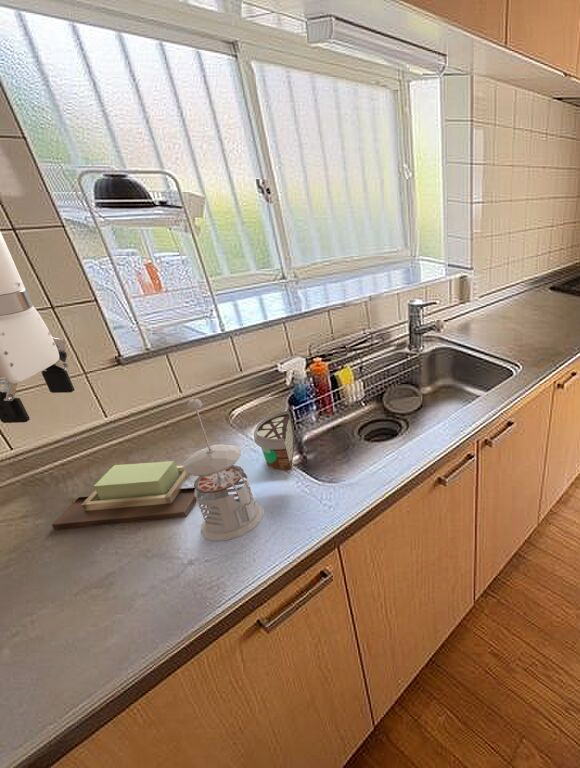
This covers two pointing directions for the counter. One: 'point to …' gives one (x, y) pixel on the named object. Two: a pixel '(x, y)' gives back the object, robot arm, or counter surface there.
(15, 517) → the counter surface
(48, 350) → the robot arm
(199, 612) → the counter surface
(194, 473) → the french press
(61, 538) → the counter surface
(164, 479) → the green rectangular block
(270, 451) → the food container
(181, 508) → the back board
